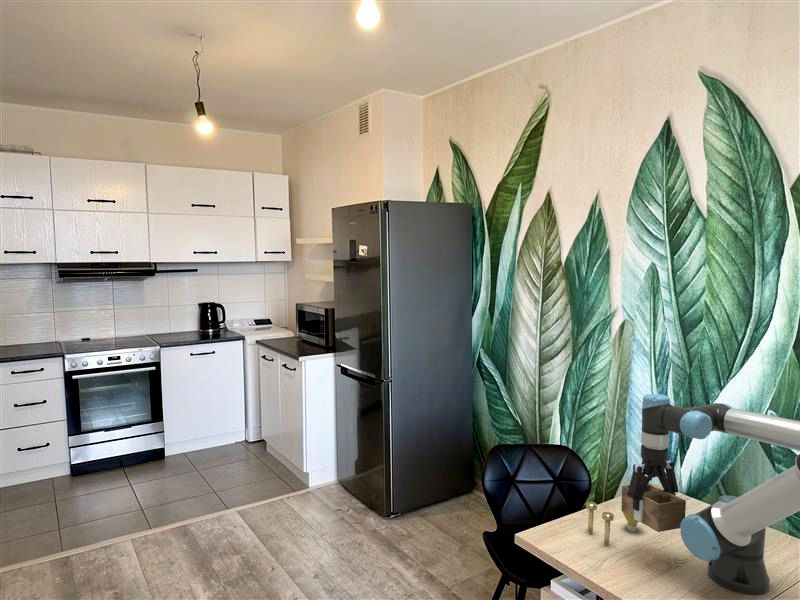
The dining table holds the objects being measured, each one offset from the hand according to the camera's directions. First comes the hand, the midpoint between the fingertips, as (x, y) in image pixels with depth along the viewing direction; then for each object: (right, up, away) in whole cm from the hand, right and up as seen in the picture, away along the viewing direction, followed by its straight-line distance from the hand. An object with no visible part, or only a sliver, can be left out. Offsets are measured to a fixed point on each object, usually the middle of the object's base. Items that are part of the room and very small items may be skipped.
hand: (652, 518), depth 168 cm
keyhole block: (0, 0, 0) cm, 0 cm away
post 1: (-13, -12, +16) cm, 24 cm away
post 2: (-11, -12, +9) cm, 18 cm away
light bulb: (+2, -12, +19) cm, 23 cm away
